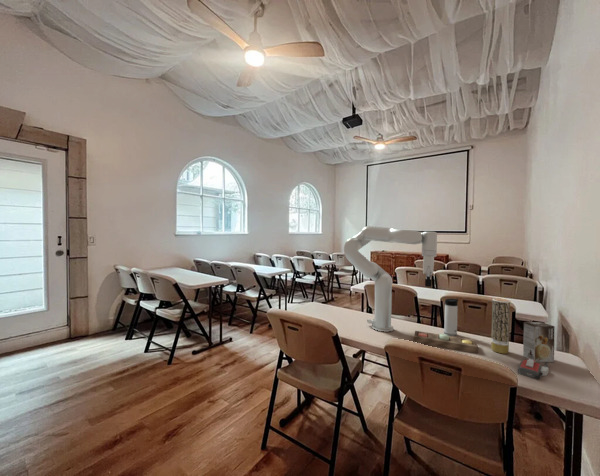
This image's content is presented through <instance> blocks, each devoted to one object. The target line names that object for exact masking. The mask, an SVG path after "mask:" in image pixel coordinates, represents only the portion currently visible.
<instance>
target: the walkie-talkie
mask: <svg viewBox="0 0 600 476" xmlns="http://www.w3.org/2000/svg"><path fill="white" fill-rule="evenodd" d="M549 370H550V369H549V362H544V365H542V364H541V363H540V362H535V360H532V359H528V358H527V359H521V361H520V363H519V365H518V367H517V373H518V374H519V375H522V376H525V377H528V378H531V379H536V380H540V379H541V377H542V376H548V374H549V372H550V371H549Z"/></svg>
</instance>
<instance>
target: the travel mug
mask: <svg viewBox="0 0 600 476" xmlns="http://www.w3.org/2000/svg"><path fill="white" fill-rule="evenodd" d="M458 302H459V299H457V298H446V299H445V300H444V327H443V328H444V329H443V330H444V331H443V332H444V333H443V334H446V335H449V336H453V337H457V335H458Z"/></svg>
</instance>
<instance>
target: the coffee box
mask: <svg viewBox="0 0 600 476" xmlns="http://www.w3.org/2000/svg"><path fill="white" fill-rule="evenodd" d="M555 330H556V329H555V325H552V324H548V323H545V322H543V321H524V322H523V346H522V347H523V350H522V353H523V354H522V356H523V357H525V358H526V359H527V360H528V359H532V360H535V362H536V363H542V362H543V363H546V362H547V363H554V362H555Z"/></svg>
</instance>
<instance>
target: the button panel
mask: <svg viewBox="0 0 600 476" xmlns="http://www.w3.org/2000/svg"><path fill="white" fill-rule="evenodd" d="M418 333H424V334H427V337H423V336H418ZM439 334H440V333H439ZM439 334H438V333H431V332H426V331H421V330H420V331H419V330H415V331H414V335H413V342H414V341H415V342H419V343H418V344H420V343H423V344H422V345H428V346H432V347H440V348H445V349H451V350H454V351H455V350H457V351H461V350H462V351H461V352H468V353H475V354H478V353H479V347H478V343H477V341H476V339H471V338H465V337H457V336H449V341H448V340H441V339H439ZM462 340H469V341H471V342H472V344H466V343H462ZM415 342H414V343H415Z"/></svg>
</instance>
